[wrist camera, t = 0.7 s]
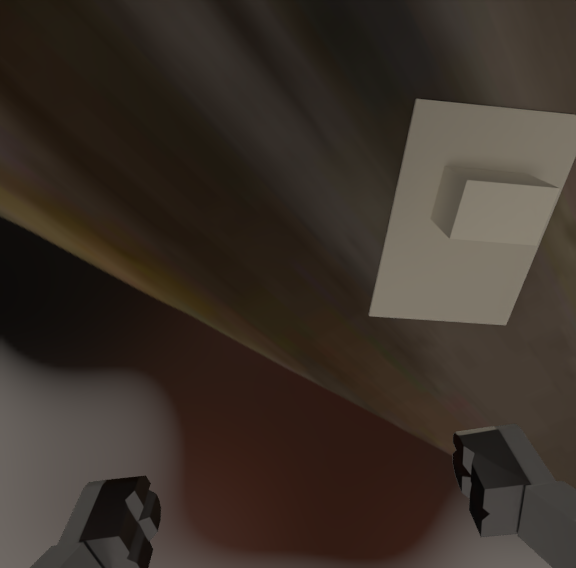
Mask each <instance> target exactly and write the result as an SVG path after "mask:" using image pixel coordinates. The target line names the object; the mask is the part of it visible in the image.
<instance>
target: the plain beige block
mask: <svg viewBox="0 0 576 568" xmlns="http://www.w3.org/2000/svg"><path fill="white" fill-rule="evenodd" d="M559 189H560V188H558V187H556V186H554V185H552V184H549V183H547V182H545V181H543V180H540V179H538V178H536V177H534V176H531V175H529V174H527V173H516V172H505V171H494V170H483V169H472V168H461V167H450V166H444V170H443V174H442V177H441V181H440V185H439V189H438V192H437V196H436V200H435V204H434V207H433V211H432V215H431V218H430V219H431V220H432V221H433V222H434V223H435V224H436V225H437V226H438V227H439V228H440V229H441V230H442V231H443V232H444V234H445V235H446V236H447V237H448V238H449V239H459V240H472V241H484V242H497V243H509V244H522V245H534V246H537V243H538V241H539V238H540V236H541V233H542V231H543V229H544V226H545V224H546V221H547V219H548V216H549V214H550V211H551V209H552V207H553V204H554V202H555V199H556V197H557V194H558V192H559Z"/></svg>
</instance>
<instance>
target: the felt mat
mask: <svg viewBox="0 0 576 568" xmlns="http://www.w3.org/2000/svg"><path fill="white" fill-rule="evenodd" d="M575 157H576V115H574V114H564V113H554V112H544V111H534V110H525V109H515V108H505V107H495V106H485V105H475V104H465V103H455V102H445V101H435V100H425V99H415V103H414V108H413V112H412V117H411V122H410V126H409V131H408V135H407V140H406V144H405V149H404V154H403V158H402V163H401V167H400V172H399V176H398V181H397V186H396V190H395V195H394V199H393V204H392V209H391V213H390V218H389V222H388V227H387V231H386V236H385V241H384V245H383V250H382V254H381V259H380V264H379V268H378V273H377V277H376V282H375V286H374V291H373V296H372V300H371V305H370V309H369V314H368V315H369V316H376V317H391V318H406V319H421V320H436V321H451V322H466V323H481V324H495V325H506V324H507V321H508V319H509V317H510V314H511V312H512V309H513V307H514V304H515V302H516V300H517V297H518V295H519V292H520V290H521V288H522V285H523V283H524V280H525V278H526V275H527V273H528V271H529V268H530V266H531V263H532V261H533V258H534V256H535V254H536V251H537V249H538V246H539V244H540V242H541V239H542V237H543V234H544V232H545V229H546V227H547V225H548V222H549V220H550V217H551V215H552V212H553V210H554V208H555V205H556V203H557V200H558V198H559V195H560V193H561V191H562V188H563V186H564V183H565V181H566V179H567V176H568V174H569V171H570V169H571V166H572V164H573V162H574V159H575ZM444 166H450V167H461V168H472V169H483V170H494V171H505V172H516V173H527V174H529V175H531V176H534V177H536V178H538V179H540V180H543V181H545V182H547V183H549V184H552V185H554V186H556V187H558V188H560V189H559V192H558V194H557V197H556V199H555V202H554V204H553V207H552V209H551V211H550V214H549V216H548V219H547V221H546V224H545V226H544V229H543V231H542V233H541V236H540V238H539V241H538V243H537V246H534V245H522V244H509V243H497V242H484V241H472V240H459V239H449V238H448V237H447V236H446V235H445V234H444V232H443V231H442V230H441V229H440V228H439V227H438V226H437V225H436V224H435V223H434V222H433V221H432V220H431V219H430V218H431V215H432V211H433V207H434V204H435V200H436V196H437V192H438V189H439V185H440V181H441V177H442V174H443V170H444Z"/></svg>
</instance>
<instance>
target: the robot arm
mask: <svg viewBox="0 0 576 568" xmlns="http://www.w3.org/2000/svg"><path fill="white" fill-rule="evenodd" d="M453 444H454V446H455V448H456V451H455V452H454V453H453V467H454V472H455V476H456V479H457V482H458V485H459V487H460V489H461V492H462V493H463V494H464V495H465V496H467V497H468V498H469V499H470V502H469V511H470V513H471V515H472V518H473V520H474V522H475V525H476V527H477V529H478V531H479V533H480V536H481V537H487V536H499V535H509V534H518V536H519V537H520V538H521V539H522V540H523V541H524V542H525V543H526V544H527V545H528V546H529V547H530V548H532V549H533V550H534V551H535V552H536V553H537V554H538V555H539V556H540V557H541V558H543V559H544V560H545V561H546V562H547V563H548V564H549V565H550V566H551V567H552V568H576V489H575V488H573V487H572V486H570V485H568V484H567V483H565V482H564V481H558V482H556V480H555V479H554V477H553V476H552V474H551V473H550V471H549V470H548V468H547V467H546V465H545V464H544V462H543V461H542V459H541V458H540V456H539V455H538V453H537V452H536V450H535V449H534V447H533V446H532V444H531V443H530V441H529V440H528V438H527V437H526V435H525V434H524V432H523V431H522V429H521V428H520V427H519V426H518V425H517V424H509V425H502V426H496V427H493V426H492V427H485V428H479V429H472V430H466V431H459V432H455V433H454V435H453ZM150 484H151V483H150V482H149V480H148V478H147V477H146V476H138V477H129V478H120V479H111V480H102V481H94V482H89V483H88V484H87V485H86V486H85V487H84V488H83V491H82V493H81V495H80V497H79V499H78V501H77V503H76V506H75V508H74V510H73V512H72V514H71V517H70V519H69V521H68V523H67V525H66V527H65V529H64V531H63V534H62V536H61V538H60V540H59V542H58V544H57V545H56V546H51V547H50V548H49V549H48V550H47V551H46V552H45V553H44V554H43V555H42V556H41V557H40V558H39V559H38V560H37V561H36V562H35V563H34V564H33V565H32V566H31V567H30V568H148V567H149V563H150V560H151V556H152V552H153V548H152V546H151V543H150V540H151V539H152V538H153V537H154V535H155V534H156V533H157V532H158V528H159V524H160V520H161V519H160V518H161V506H160V501H159V498H158V496H157V494H155V493H154V492H152V491H150V490H149V487H150Z"/></svg>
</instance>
